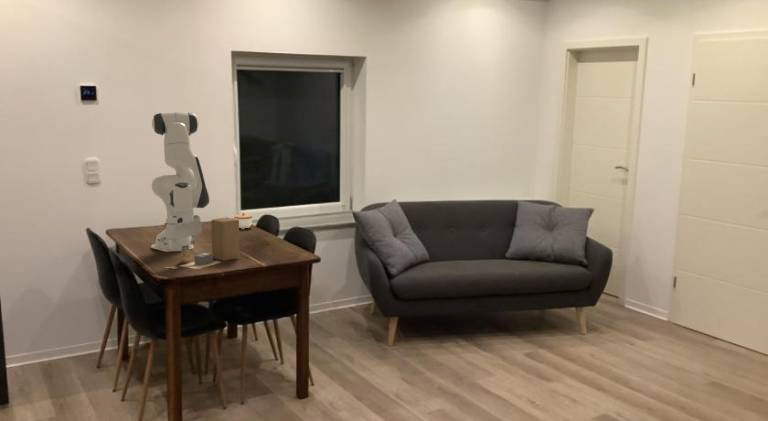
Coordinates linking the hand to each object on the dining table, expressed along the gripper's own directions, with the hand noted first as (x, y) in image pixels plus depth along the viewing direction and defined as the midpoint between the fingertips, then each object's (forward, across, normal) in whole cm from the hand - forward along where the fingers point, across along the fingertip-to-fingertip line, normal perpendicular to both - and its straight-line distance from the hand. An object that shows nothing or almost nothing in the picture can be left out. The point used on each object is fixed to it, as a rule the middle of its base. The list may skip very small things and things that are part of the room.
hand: (185, 246), depth 317 cm
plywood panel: (+9, -1, +8) cm, 12 cm away
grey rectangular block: (+8, -3, +8) cm, 12 cm away
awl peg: (+9, -1, -1) cm, 9 cm away
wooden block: (+9, -18, +9) cm, 22 cm away
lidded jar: (+7, -84, -35) cm, 91 cm away
